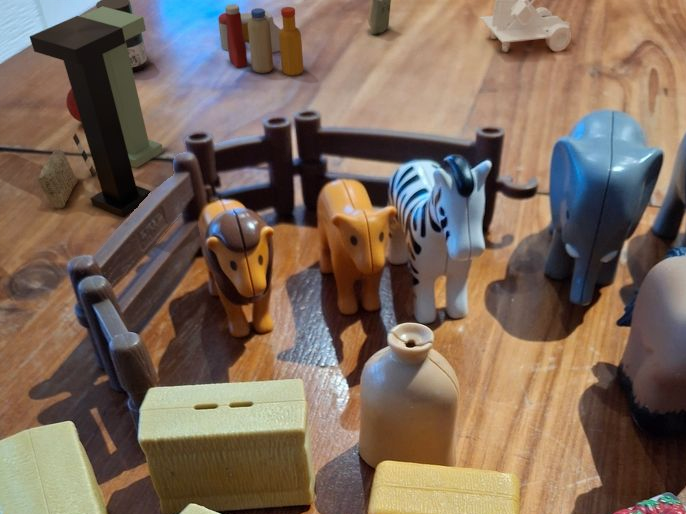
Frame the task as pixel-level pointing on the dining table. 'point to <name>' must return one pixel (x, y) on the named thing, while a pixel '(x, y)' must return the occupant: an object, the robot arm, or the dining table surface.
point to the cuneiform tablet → (60, 176)
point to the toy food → (261, 39)
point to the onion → (72, 106)
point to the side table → (126, 85)
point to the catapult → (526, 24)
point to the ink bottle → (135, 43)
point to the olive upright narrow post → (379, 16)
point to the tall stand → (95, 105)
